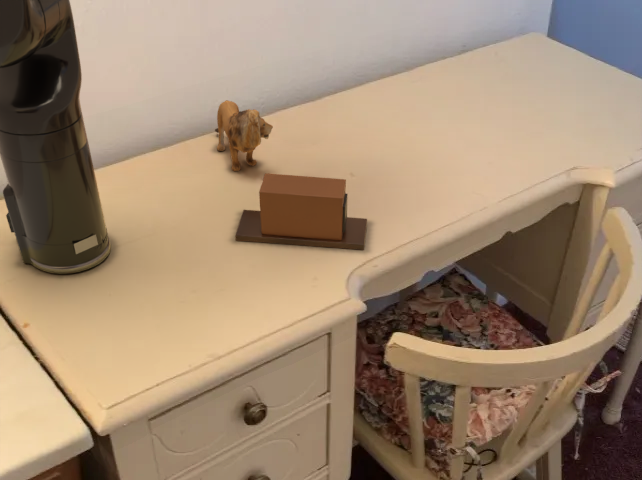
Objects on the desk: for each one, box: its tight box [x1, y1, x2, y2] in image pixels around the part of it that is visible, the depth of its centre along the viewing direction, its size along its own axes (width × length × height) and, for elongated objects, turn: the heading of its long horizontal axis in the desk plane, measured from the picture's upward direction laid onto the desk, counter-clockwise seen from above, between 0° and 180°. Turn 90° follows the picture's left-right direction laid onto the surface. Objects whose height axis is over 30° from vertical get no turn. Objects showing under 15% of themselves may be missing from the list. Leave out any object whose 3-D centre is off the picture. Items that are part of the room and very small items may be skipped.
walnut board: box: [234, 209, 368, 251], centre depth 105 cm, size 16×6×1 cm, turn 87°
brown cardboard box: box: [258, 172, 349, 240], centre depth 103 cm, size 4×10×6 cm, turn 87°
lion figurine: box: [214, 100, 274, 172], centre depth 116 cm, size 15×5×9 cm, turn 33°
